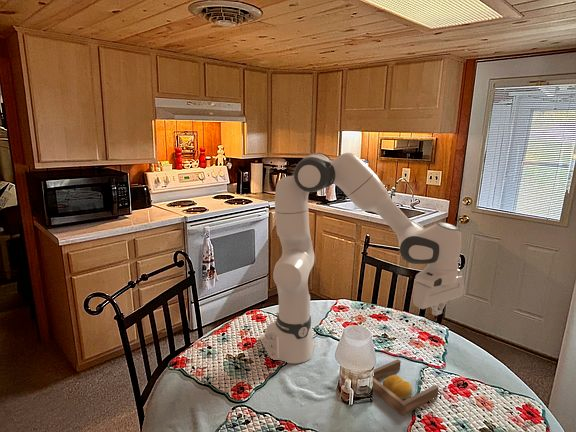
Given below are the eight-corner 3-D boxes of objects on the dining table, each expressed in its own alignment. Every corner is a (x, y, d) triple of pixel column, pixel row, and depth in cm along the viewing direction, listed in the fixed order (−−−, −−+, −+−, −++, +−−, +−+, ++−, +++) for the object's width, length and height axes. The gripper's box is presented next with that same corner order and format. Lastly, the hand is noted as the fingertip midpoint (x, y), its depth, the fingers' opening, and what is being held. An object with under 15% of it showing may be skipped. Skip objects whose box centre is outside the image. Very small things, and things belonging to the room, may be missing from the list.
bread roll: (401, 404, 117) (402, 393, 116) (378, 388, 124) (378, 377, 123) (418, 393, 121) (419, 382, 120) (395, 378, 128) (396, 368, 127)
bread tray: (363, 383, 126) (364, 373, 125) (397, 368, 133) (397, 359, 132) (402, 415, 112) (403, 405, 111) (437, 396, 120) (438, 387, 119)
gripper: (454, 265, 130) (449, 303, 134) (411, 276, 120) (407, 317, 124) (471, 271, 125) (465, 310, 129) (428, 283, 115) (423, 326, 118)
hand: (436, 314), depth 126 cm, fingers closed
